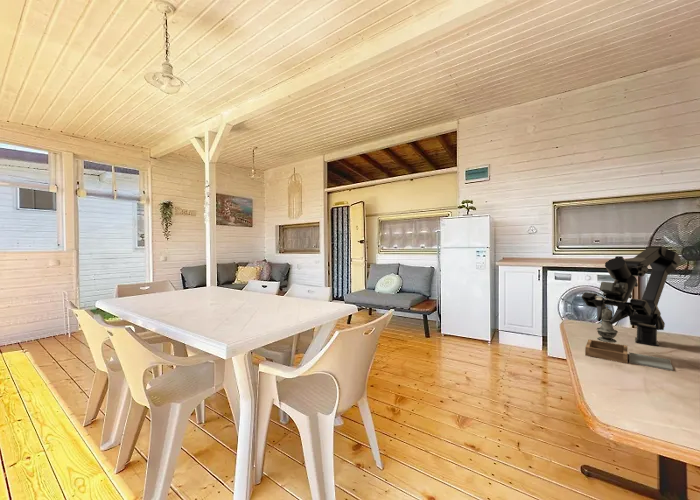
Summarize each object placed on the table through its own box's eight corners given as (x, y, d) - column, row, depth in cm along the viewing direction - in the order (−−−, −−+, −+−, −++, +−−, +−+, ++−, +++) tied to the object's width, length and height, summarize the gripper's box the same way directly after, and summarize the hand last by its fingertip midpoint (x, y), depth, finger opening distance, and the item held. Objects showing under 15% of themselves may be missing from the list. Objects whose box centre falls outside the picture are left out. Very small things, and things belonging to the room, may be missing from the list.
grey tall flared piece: (621, 343, 105) (622, 308, 105) (602, 342, 106) (602, 308, 106) (611, 337, 111) (611, 304, 111) (592, 337, 112) (592, 304, 112)
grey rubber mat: (629, 353, 109) (629, 352, 109) (669, 361, 103) (669, 359, 103) (629, 362, 102) (629, 360, 102) (672, 371, 95) (672, 369, 95)
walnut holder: (588, 347, 117) (588, 339, 117) (627, 354, 109) (627, 345, 109) (585, 355, 109) (585, 347, 108) (627, 363, 101) (627, 354, 101)
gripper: (584, 271, 118) (566, 302, 114) (647, 276, 101) (629, 313, 97) (596, 289, 122) (579, 321, 117) (658, 297, 105) (641, 334, 100)
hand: (604, 322), depth 108 cm, fingers closed on grey tall flared piece, 4 cm apart
